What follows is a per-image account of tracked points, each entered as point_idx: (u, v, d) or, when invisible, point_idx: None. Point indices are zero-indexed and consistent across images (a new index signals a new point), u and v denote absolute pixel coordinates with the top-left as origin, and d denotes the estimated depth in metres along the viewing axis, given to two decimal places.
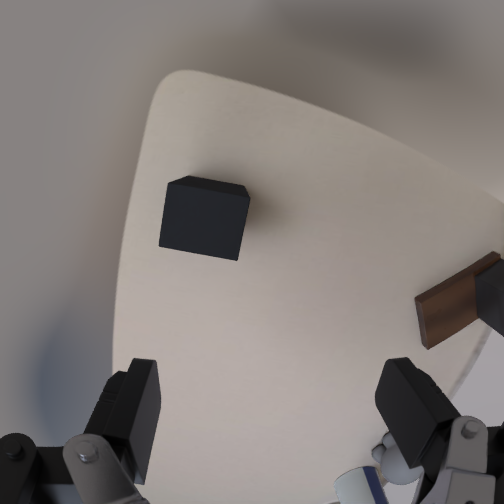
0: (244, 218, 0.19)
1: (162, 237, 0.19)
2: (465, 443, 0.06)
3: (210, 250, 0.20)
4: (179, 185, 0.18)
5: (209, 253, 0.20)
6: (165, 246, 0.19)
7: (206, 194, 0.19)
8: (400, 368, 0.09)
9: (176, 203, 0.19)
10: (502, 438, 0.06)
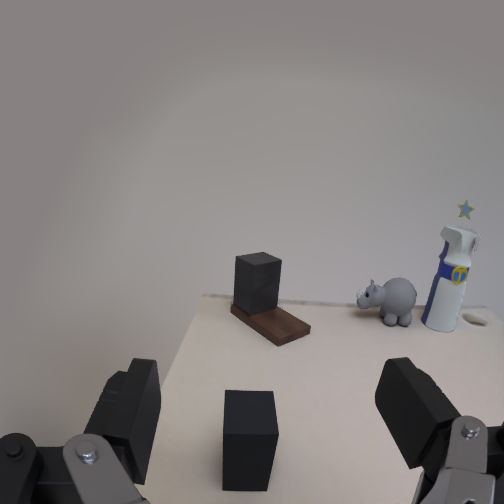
0: None
1: (270, 432, 0.20)
2: (465, 443, 0.06)
3: (270, 404, 0.23)
4: (224, 426, 0.21)
5: (273, 405, 0.23)
6: (277, 429, 0.21)
7: (228, 411, 0.22)
8: (400, 368, 0.09)
9: (238, 426, 0.21)
10: (502, 438, 0.06)
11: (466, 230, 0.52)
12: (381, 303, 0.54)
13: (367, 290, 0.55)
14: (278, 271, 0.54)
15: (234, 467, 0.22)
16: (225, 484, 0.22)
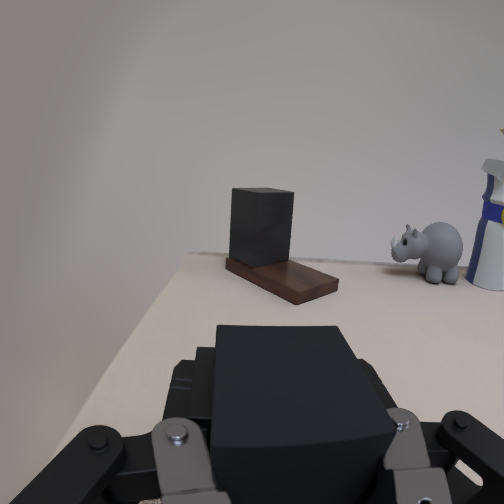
0: (257, 326, 0.10)
1: (371, 428, 0.06)
2: None
3: (342, 353, 0.09)
4: (213, 420, 0.06)
5: (349, 354, 0.09)
6: (388, 418, 0.06)
7: (225, 373, 0.08)
8: None
9: (264, 420, 0.06)
10: (444, 440, 0.06)
11: None
12: (423, 253, 0.40)
13: (404, 236, 0.41)
14: (290, 207, 0.40)
15: None
16: None
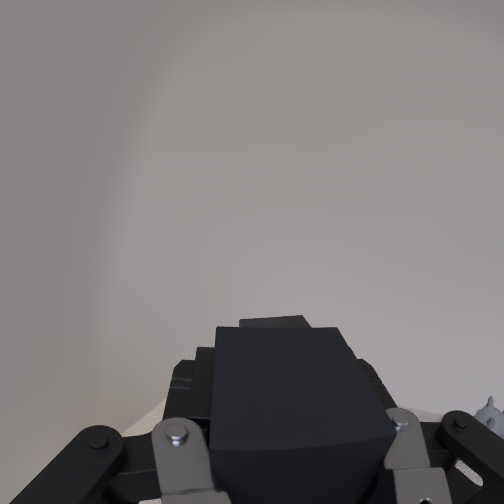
0: (257, 328, 0.10)
1: (371, 431, 0.06)
2: None
3: (342, 355, 0.09)
4: (212, 422, 0.06)
5: (349, 356, 0.09)
6: (388, 420, 0.06)
7: (225, 376, 0.08)
8: None
9: (264, 423, 0.06)
10: (444, 440, 0.06)
11: None
12: None
13: None
14: None
15: None
16: None
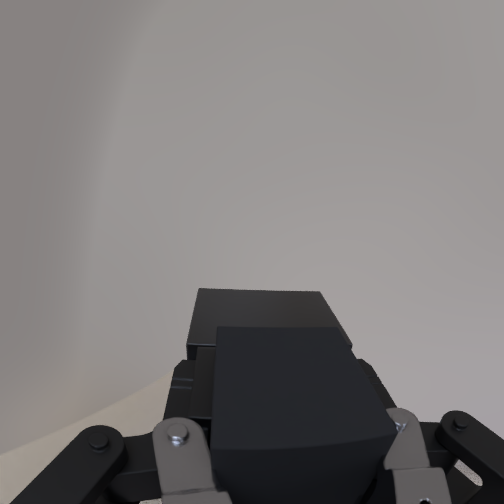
0: (258, 327, 0.10)
1: (372, 430, 0.06)
2: None
3: (343, 355, 0.09)
4: (213, 422, 0.06)
5: (350, 355, 0.09)
6: (388, 419, 0.06)
7: (226, 375, 0.08)
8: None
9: (265, 423, 0.06)
10: (443, 440, 0.06)
11: None
12: None
13: None
14: None
15: None
16: None
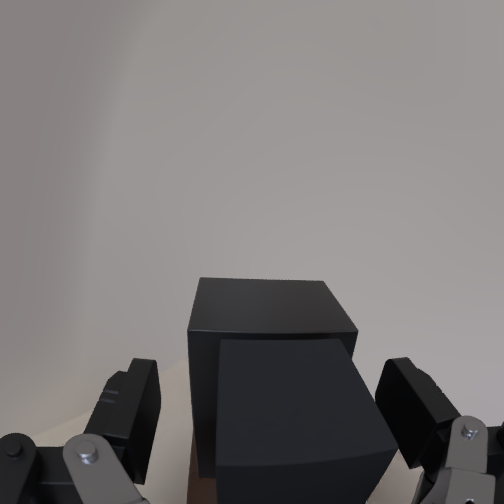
0: (260, 340, 0.10)
1: (373, 445, 0.06)
2: (465, 443, 0.06)
3: (345, 368, 0.09)
4: (218, 439, 0.06)
5: (352, 368, 0.09)
6: (389, 434, 0.06)
7: (229, 391, 0.08)
8: (400, 368, 0.09)
9: (268, 439, 0.06)
10: (502, 438, 0.06)
11: None
12: None
13: None
14: None
15: None
16: None
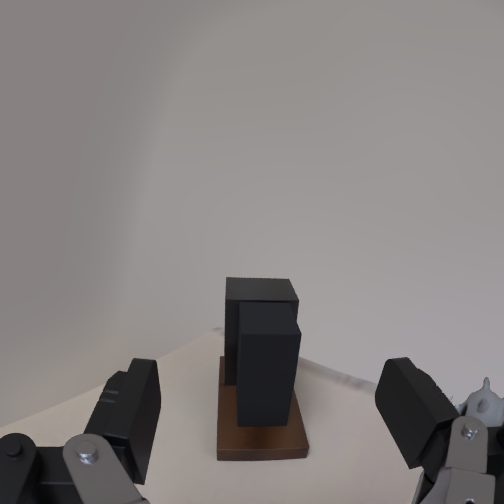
0: (256, 302, 0.25)
1: (291, 332, 0.21)
2: (465, 443, 0.06)
3: (288, 312, 0.24)
4: (241, 328, 0.21)
5: (291, 312, 0.24)
6: (299, 330, 0.21)
7: (244, 317, 0.23)
8: (400, 368, 0.09)
9: (257, 328, 0.21)
10: (502, 438, 0.06)
11: None
12: None
13: (468, 401, 0.18)
14: None
15: (252, 387, 0.22)
16: (241, 416, 0.23)
